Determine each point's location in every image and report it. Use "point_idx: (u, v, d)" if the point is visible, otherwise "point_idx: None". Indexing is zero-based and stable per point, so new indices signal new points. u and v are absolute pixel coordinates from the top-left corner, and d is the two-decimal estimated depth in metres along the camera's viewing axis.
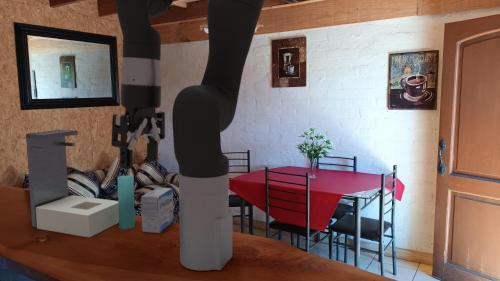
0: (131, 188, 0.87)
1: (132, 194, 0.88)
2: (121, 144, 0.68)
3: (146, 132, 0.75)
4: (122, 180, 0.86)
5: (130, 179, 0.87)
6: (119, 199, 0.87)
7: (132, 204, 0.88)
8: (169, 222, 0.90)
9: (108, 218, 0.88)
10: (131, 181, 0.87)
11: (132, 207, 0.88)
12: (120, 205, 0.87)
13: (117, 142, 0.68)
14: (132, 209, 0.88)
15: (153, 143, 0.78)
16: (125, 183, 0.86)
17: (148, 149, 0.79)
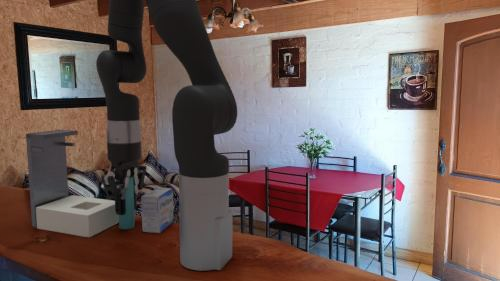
0: (131, 188, 0.87)
1: (132, 194, 0.88)
2: (115, 197, 0.83)
3: None
4: None
5: (130, 179, 0.87)
6: None
7: (132, 204, 0.88)
8: (169, 222, 0.90)
9: (108, 218, 0.88)
10: (131, 181, 0.87)
11: (132, 207, 0.88)
12: None
13: (112, 195, 0.84)
14: (132, 209, 0.88)
15: None
16: None
17: None
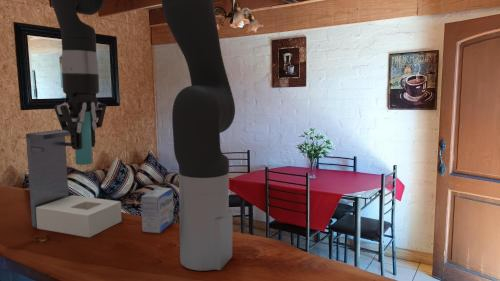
0: (87, 122, 0.85)
1: (89, 129, 0.86)
2: (69, 129, 0.81)
3: None
4: None
5: (87, 113, 0.85)
6: None
7: (89, 139, 0.86)
8: (169, 222, 0.90)
9: (108, 218, 0.88)
10: (87, 115, 0.85)
11: (89, 142, 0.86)
12: None
13: (66, 126, 0.82)
14: (89, 145, 0.86)
15: None
16: None
17: None
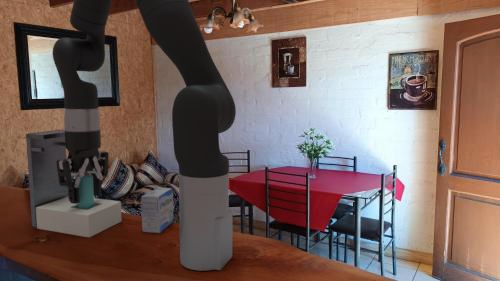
0: (90, 187, 0.87)
1: (91, 193, 0.88)
2: (67, 184, 0.82)
3: (88, 169, 0.87)
4: (81, 179, 0.86)
5: (89, 178, 0.87)
6: None
7: (91, 203, 0.88)
8: (169, 222, 0.90)
9: (108, 218, 0.88)
10: (90, 180, 0.87)
11: (91, 206, 0.88)
12: (79, 204, 0.87)
13: (64, 182, 0.82)
14: None
15: (96, 180, 0.91)
16: (84, 183, 0.86)
17: None
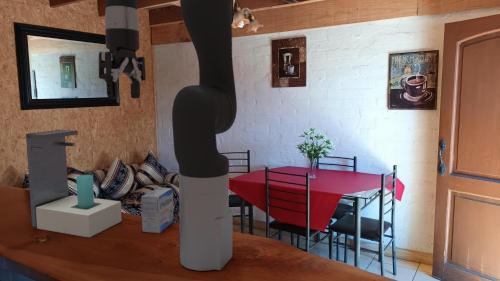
0: (90, 187, 0.87)
1: (91, 193, 0.88)
2: (106, 75, 0.83)
3: (128, 71, 0.90)
4: (81, 179, 0.86)
5: (89, 178, 0.87)
6: (78, 198, 0.87)
7: (91, 203, 0.88)
8: (169, 222, 0.90)
9: (108, 218, 0.88)
10: (90, 180, 0.87)
11: (91, 206, 0.88)
12: (79, 204, 0.87)
13: (103, 74, 0.83)
14: None
15: (135, 83, 0.93)
16: (84, 183, 0.86)
17: (131, 88, 0.94)
